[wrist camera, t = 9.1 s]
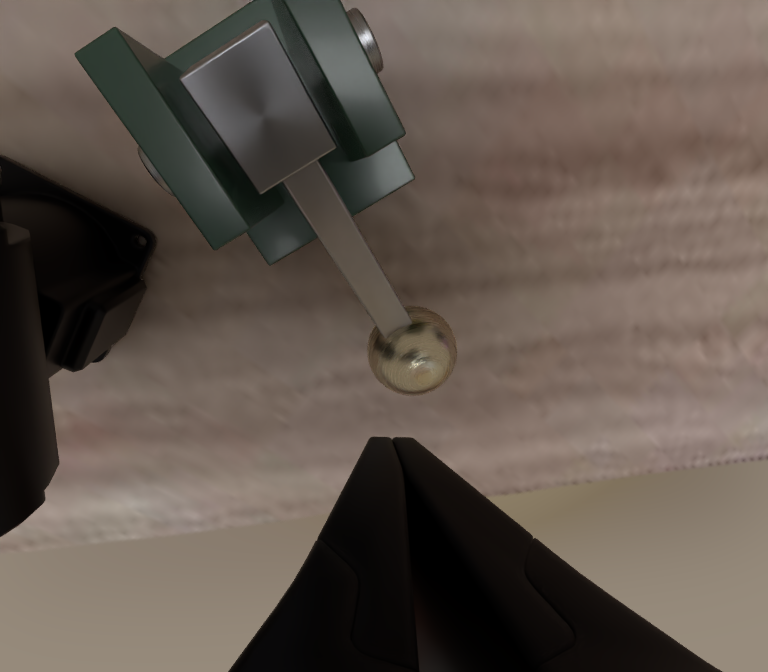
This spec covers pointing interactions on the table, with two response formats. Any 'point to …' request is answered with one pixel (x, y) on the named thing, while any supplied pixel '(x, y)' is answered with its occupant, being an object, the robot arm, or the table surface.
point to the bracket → (208, 153)
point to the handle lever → (314, 194)
